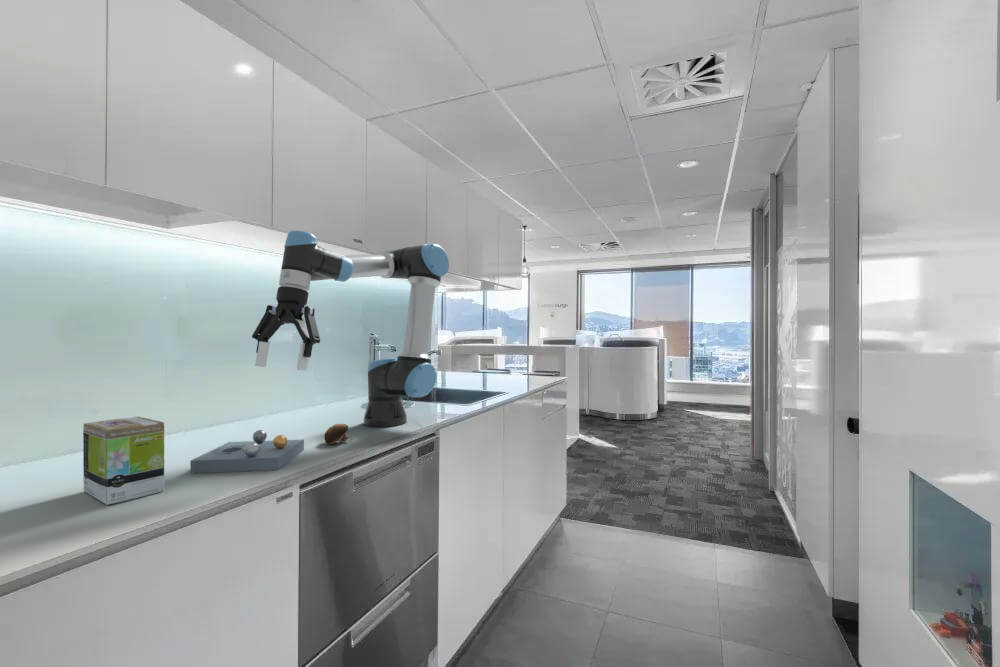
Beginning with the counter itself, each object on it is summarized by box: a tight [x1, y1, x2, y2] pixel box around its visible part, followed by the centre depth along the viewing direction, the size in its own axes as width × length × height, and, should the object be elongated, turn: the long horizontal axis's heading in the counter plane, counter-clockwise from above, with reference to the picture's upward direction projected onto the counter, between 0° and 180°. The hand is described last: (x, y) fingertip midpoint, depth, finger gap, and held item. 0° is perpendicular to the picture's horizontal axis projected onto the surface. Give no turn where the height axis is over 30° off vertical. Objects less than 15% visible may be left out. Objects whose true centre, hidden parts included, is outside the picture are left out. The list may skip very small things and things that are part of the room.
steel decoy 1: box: [244, 442, 260, 457], centre depth 109 cm, size 3×3×3 cm
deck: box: [189, 439, 305, 474], centre depth 116 cm, size 20×18×3 cm
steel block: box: [252, 429, 268, 443], centre depth 123 cm, size 3×3×3 cm
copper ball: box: [273, 434, 288, 448], centre depth 116 cm, size 3×3×3 cm
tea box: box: [82, 416, 166, 506], centre depth 94 cm, size 15×10×15 cm
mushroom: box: [323, 423, 350, 445], centre depth 133 cm, size 8×8×6 cm
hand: (280, 368), depth 116 cm, fingers open, 13 cm apart
